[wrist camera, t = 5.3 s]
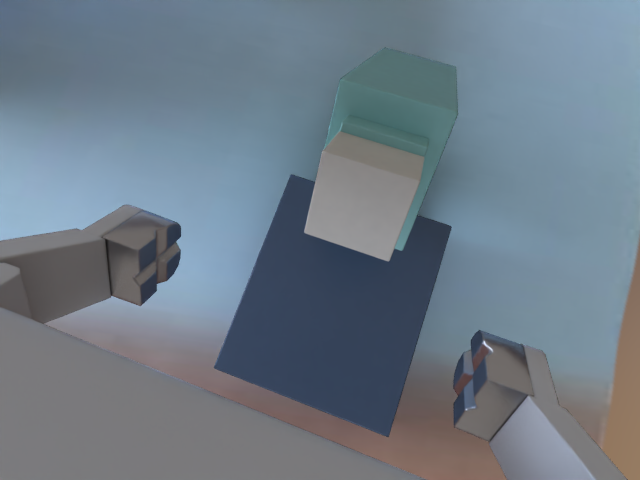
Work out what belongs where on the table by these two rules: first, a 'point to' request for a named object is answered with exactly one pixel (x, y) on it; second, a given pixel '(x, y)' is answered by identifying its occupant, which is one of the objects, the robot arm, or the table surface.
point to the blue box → (332, 316)
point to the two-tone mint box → (382, 151)
